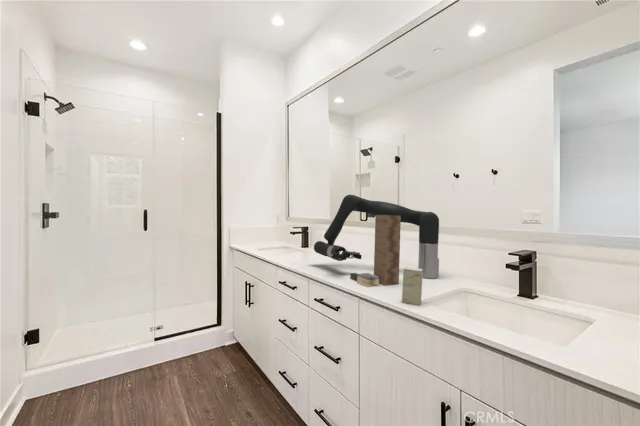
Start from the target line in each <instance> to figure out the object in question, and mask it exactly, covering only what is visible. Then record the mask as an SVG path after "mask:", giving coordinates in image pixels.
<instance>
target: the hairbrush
mask: <svg viewBox="0 0 640 426" xmlns="http://www.w3.org/2000/svg"><path fill="white" fill-rule="evenodd" d="M349 275H350V277H349V278H350V279H351V280H353V281H355V282H356V283H357V284H358V283H359V285H361V286H364V287H365V286H366V288H374V286H375V287H379V285H380V284H379V279H378V276H375V275H374V273H373V274H372V273H370V272H363V273H357V272H351V273H350V274H349Z"/></svg>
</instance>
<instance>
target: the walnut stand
mask: <svg viewBox="0 0 640 426" xmlns="http://www.w3.org/2000/svg"><path fill="white" fill-rule="evenodd" d="M374 217H375V223H374V224H375V225H374V226H375V227H374V251H373V252H374V253H373V254H374V255H373V258H374V259H373V261H374V262H373V275H375V276H378V279H379V285H382V286H385V287H386V286H393V285H399V284H400V253H401V252H400V251H401V225H402V224H401V223H402V222H401V216H396V215H376V216H374Z"/></svg>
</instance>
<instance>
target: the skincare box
mask: <svg viewBox="0 0 640 426" xmlns="http://www.w3.org/2000/svg"><path fill="white" fill-rule="evenodd" d="M402 273H403V274H402V290H401V291H402V293H401V295H402V296H401V303H405V304H411V305H416V306H420V305H421V303H422V293H423V292H422V289H423V278H422V275H423V269H418V267H416V268H415V267H408V266H406V267H404V268H403V272H402Z"/></svg>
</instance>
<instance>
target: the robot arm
mask: <svg viewBox="0 0 640 426" xmlns="http://www.w3.org/2000/svg"><path fill="white" fill-rule="evenodd" d="M352 212H359V213H365V214H369V215H372V216H374V217H376V215H396V216H401V223H404V224H405V223H407V224H411V225H415V226H417V227H419V228H418V267H417V269H423V275H422V279H437V278H439V275H440V273H439V272H440V258H439V236H440V219H439V217H438V215H437V214H436V213H435V212H432V211H421V210H414V209H411V208H407V207H405V206H402V205H400V204H395V203H392V202H387V201H381V200H380V201H379V200H370V199H366V198H363V197H359V196H358V195H355V194H346V195H345V196H344V197H343V198H342V200H341V203H340V206H339V208H338V210H337V212H336V214H335V217H334V218H333V220H332V222H331V223H330V225H329V226H328V228H327V230H325V233H324V235H323V238H324V239H325V240H326V241H327V242H324V241H322V240H318V241H316V242H315V243H314V244H313V251H314V252H315V253H316V254H319V255H322V256H323V257H328V258H330V259H332V260H334V261H335V260H336V261H338V262H342V261H347V259H358V260H361V259H362V254H361V252H356V251H349V250H347V249H346V248H345V247H344V246H341V245H336V244H335V242H336V240H337V239H338V237H339V235H340V234H341V231H342V229H343V226H344V224H345V222H346V220H347V219H348V217H349V216H350V214H351V213H352Z"/></svg>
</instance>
